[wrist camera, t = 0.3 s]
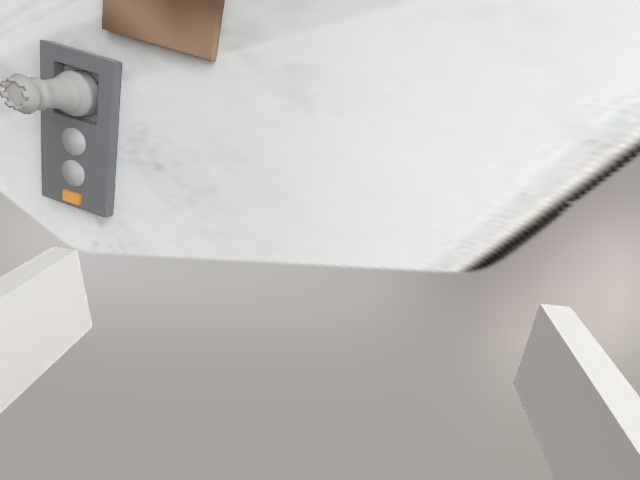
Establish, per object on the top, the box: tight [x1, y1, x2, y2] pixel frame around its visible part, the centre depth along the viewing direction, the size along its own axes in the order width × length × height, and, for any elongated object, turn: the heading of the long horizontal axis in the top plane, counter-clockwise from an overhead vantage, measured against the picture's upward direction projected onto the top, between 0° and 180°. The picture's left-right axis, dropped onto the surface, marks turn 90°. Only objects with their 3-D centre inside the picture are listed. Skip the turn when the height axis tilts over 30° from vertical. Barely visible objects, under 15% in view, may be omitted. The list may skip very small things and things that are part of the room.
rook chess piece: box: [0, 70, 98, 117], centre depth 38 cm, size 4×4×8 cm
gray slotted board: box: [40, 40, 122, 217], centre depth 42 cm, size 16×8×2 cm, turn 165°
